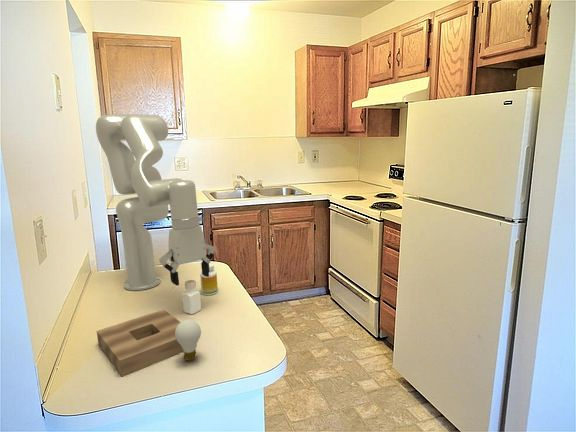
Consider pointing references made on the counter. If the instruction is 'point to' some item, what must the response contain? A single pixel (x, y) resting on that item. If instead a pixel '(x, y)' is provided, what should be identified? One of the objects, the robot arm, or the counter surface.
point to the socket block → (140, 341)
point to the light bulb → (188, 337)
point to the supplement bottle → (209, 282)
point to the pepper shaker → (191, 298)
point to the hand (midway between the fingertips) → (191, 279)
